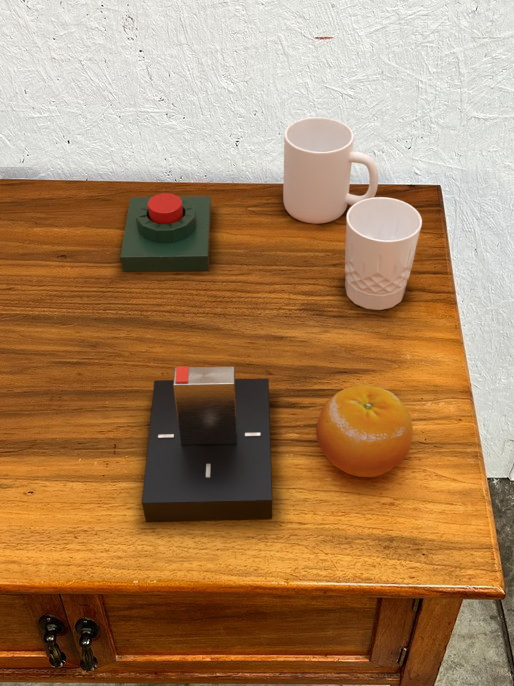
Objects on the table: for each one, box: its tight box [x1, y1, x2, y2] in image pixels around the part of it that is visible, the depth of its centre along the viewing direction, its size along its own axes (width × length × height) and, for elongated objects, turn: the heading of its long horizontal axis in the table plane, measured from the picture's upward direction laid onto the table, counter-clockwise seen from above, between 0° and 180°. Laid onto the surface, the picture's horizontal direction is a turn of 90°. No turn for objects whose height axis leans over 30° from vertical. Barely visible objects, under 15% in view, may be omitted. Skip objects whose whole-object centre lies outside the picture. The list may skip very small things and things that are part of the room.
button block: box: [119, 195, 212, 273], centre depth 93 cm, size 12×10×4 cm
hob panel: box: [141, 378, 274, 523], centre depth 71 cm, size 14×11×3 cm
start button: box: [148, 192, 183, 224], centre depth 91 cm, size 4×4×2 cm
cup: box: [282, 116, 379, 225], centre depth 96 cm, size 8×12×10 cm
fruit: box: [315, 384, 414, 478], centre depth 70 cm, size 8×8×8 cm
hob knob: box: [173, 366, 237, 445], centre depth 67 cm, size 5×2×8 cm, turn 92°
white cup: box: [344, 196, 423, 311], centre depth 85 cm, size 8×8×10 cm
